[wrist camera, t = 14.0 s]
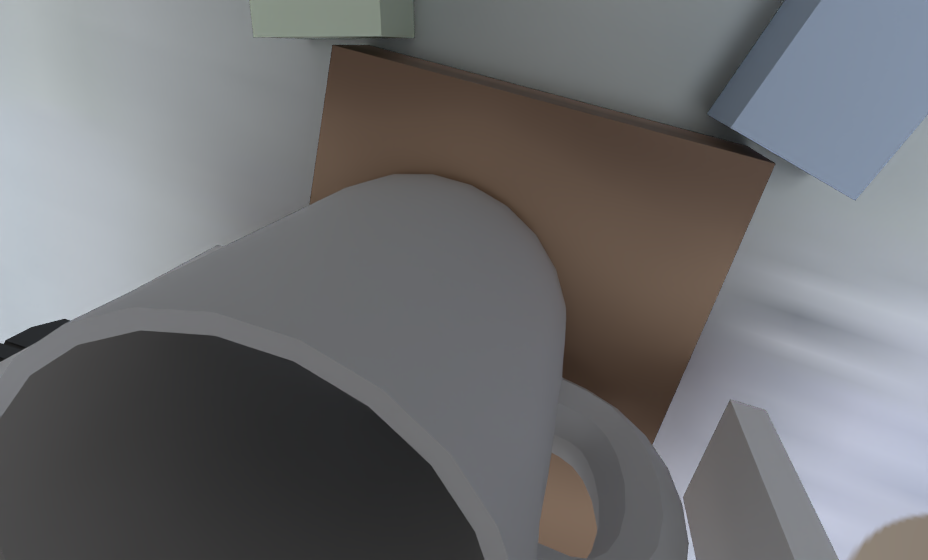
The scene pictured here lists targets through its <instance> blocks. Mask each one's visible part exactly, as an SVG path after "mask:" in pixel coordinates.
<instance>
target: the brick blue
mask: <svg viewBox="0 0 928 560" xmlns="http://www.w3.org/2000/svg"><path fill="white" fill-rule="evenodd" d="M707 115H709V116H711V117H712V118H714V119H716V120H718V121H719V122H721V123H723V124H724V125H726V126H728V127H730V128H731V129H733V130H735V131H736V132H738V133H740V134H742V135H743V136H745V137H747V138H748V139H750V140H752V141H754V142H755V143H757V144H759V145H760V146H762V147H764V148H766V149H767V150H769V151H771V152H772V153H774V154H776V155H778V156H779V157H781V158H783V159H784V160H786V161H788V162H790V163H791V164H793V165H795V166H796V167H798V168H800V169H802V170H803V171H805V172H807V173H808V174H810V175H812V176H814V177H815V178H817V179H819V180H820V181H822V182H824V183H826V184H827V185H829V186H831V187H833V188H834V189H836V190H838V191H839V192H841V193H843V194H845V195H846V196H848V197H850V198H851V199H853V200H856V199H857V198H858V197H859V195H860V194H861V193H862V192H863V191H864V190H865V188H866V187H867V186H868V185H869V184H870V182H871V181H872V180H873V179H874V178H875V176H876V175H877V174H878V173H879V172H880V171H881V169H882V168H883V167H884V166H885V165H886V163H887V162H888V161H889V160H890V159H891V157H892V156H893V155H894V154H895V153H896V152H897V150H898V149H899V148H900V147H901V146H902V144H903V143H904V142H905V141H906V140H907V138H908V137H909V136H910V135H911V134H912V133H913V131H914V130H915V129H916V128H917V127H918V125H919V124H920V123H921V122H922V121H923V119H924V118H925V117H926V116H927V115H928V0H785V1H784V2H783V4H782V5H781V7H780V8H779V10H778V11H777V12H776V14H775V15H774V17H773V18H772V20H771V21H770V23H769V24H768V26H767V27H766V28H765V30H764V31H763V33H762V34H761V36H760V37H759V39H758V40H757V42H756V43H755V45H754V46H753V47H752V49H751V50H750V52H749V53H748V55H747V56H746V58H745V59H744V61H743V62H742V63H741V65H740V66H739V68H738V69H737V71H736V72H735V74H734V75H733V77H732V78H731V80H730V81H729V82H728V84H727V85H726V87H725V88H724V90H723V91H722V93H721V94H720V96H719V97H718V98H717V100H716V101H715V103H714V104H713V106H712V107H711V109H710V110H709V112H708V113H707Z"/></svg>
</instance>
